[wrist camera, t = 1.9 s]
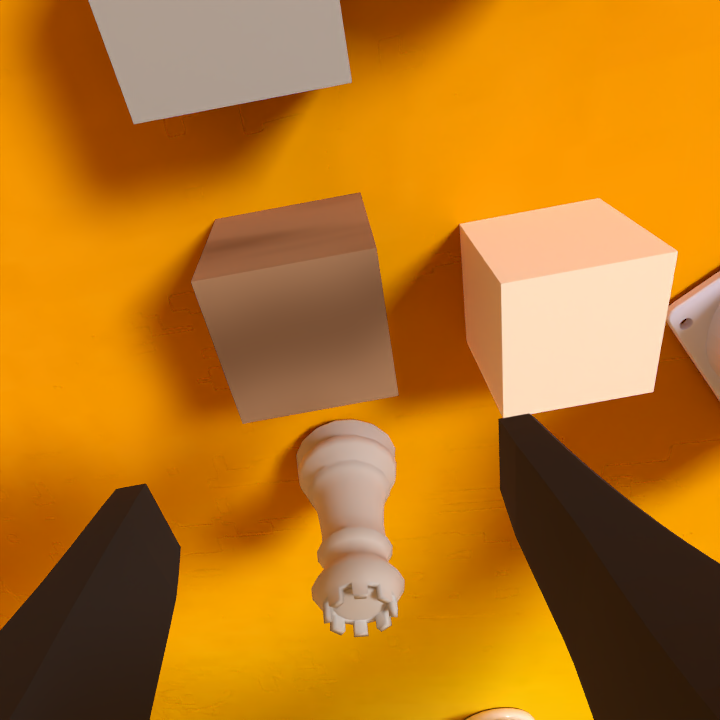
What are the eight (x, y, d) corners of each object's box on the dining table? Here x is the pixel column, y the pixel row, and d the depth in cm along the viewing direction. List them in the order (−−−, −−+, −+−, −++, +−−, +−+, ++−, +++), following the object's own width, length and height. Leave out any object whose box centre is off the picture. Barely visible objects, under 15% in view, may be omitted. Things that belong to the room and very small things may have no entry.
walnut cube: (380, 318, 21) (398, 395, 17) (254, 341, 21) (242, 423, 17) (360, 191, 19) (376, 247, 14) (215, 218, 19) (190, 281, 15)
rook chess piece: (275, 445, 24) (265, 613, 18) (358, 396, 23) (379, 554, 17) (334, 499, 27) (344, 666, 20) (412, 456, 25) (451, 618, 19)
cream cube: (587, 318, 22) (653, 391, 18) (466, 340, 22) (503, 419, 18) (597, 197, 19) (677, 251, 15) (459, 223, 20) (501, 284, 15)
